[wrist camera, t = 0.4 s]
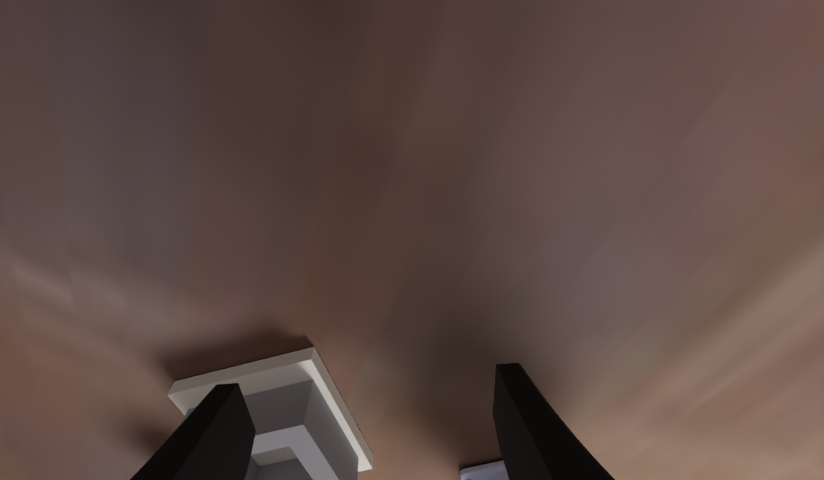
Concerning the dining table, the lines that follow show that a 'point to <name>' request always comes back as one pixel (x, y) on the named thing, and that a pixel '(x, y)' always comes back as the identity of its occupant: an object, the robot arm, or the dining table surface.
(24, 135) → the dining table surface
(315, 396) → the socket block
